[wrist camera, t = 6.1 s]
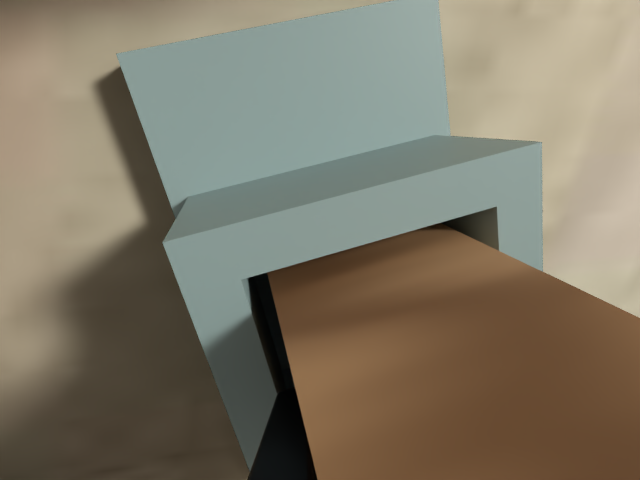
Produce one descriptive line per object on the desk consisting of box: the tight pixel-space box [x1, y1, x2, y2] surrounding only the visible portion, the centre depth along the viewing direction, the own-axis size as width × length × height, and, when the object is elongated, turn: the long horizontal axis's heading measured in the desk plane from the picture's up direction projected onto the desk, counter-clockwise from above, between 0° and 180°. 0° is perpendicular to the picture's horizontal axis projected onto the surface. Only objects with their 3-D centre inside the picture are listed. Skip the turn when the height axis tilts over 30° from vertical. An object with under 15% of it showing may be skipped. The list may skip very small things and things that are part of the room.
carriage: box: [116, 0, 543, 471], centre depth 10 cm, size 8×14×5 cm, turn 12°
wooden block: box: [267, 223, 640, 480], centre depth 6 cm, size 4×4×8 cm
